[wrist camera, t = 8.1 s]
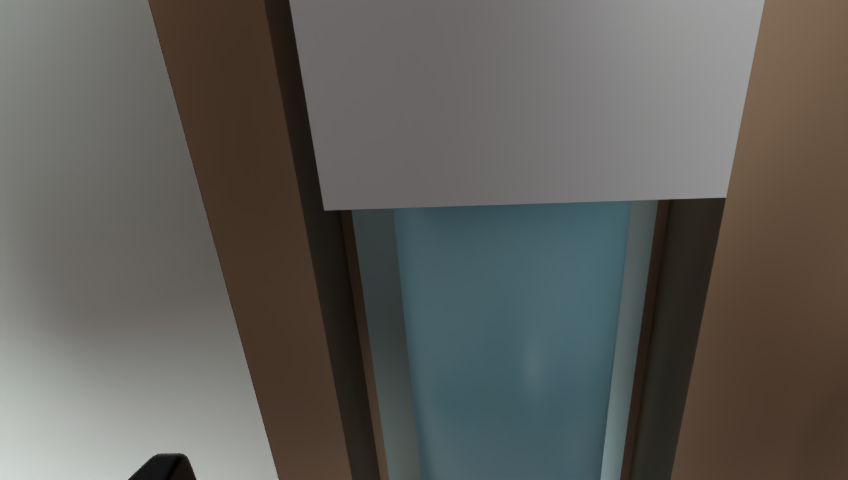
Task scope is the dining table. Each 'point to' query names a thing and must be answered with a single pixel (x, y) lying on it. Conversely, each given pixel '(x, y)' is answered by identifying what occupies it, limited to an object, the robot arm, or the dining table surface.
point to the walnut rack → (642, 280)
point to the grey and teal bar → (519, 191)
